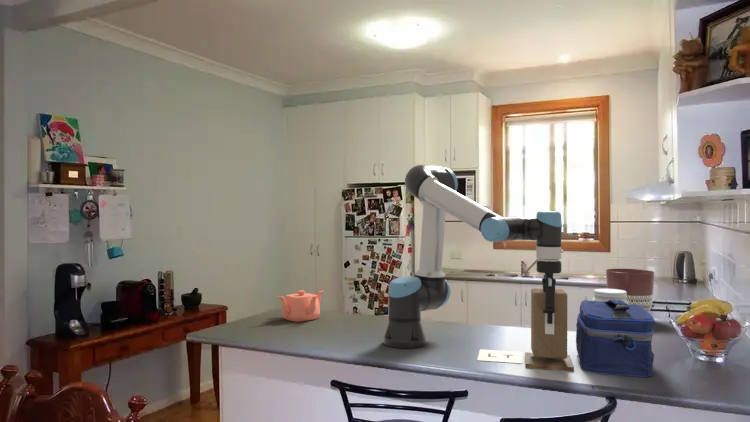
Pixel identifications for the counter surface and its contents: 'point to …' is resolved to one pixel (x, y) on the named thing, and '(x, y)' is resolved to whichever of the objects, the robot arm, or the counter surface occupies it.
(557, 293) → the wooden block
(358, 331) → the counter surface
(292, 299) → the pot
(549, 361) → the board
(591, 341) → the lunch bag
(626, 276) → the planter
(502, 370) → the counter surface
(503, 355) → the tile
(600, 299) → the supplement tub
